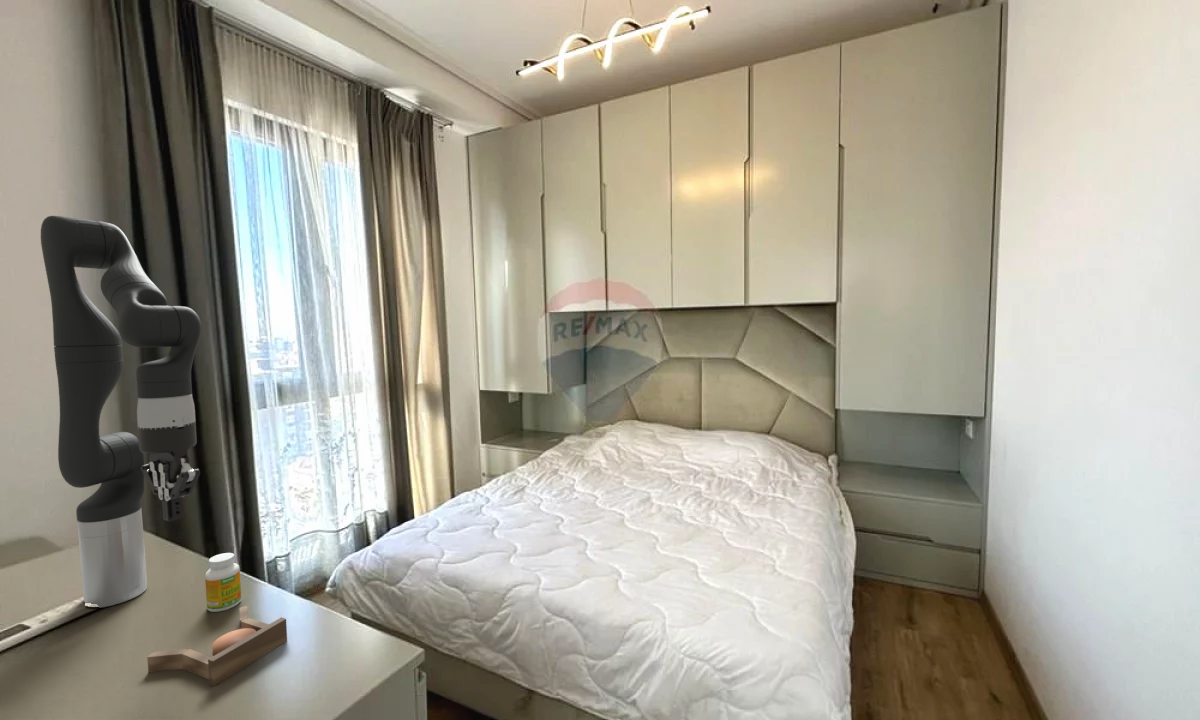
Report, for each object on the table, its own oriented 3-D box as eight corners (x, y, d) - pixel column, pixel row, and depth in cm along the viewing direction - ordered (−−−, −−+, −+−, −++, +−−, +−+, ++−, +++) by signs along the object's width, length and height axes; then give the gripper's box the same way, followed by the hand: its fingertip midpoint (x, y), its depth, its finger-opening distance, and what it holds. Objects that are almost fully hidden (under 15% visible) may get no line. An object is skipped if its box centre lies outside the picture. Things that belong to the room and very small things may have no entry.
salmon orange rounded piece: (204, 660, 81) (203, 645, 81) (241, 639, 87) (240, 625, 87) (229, 668, 79) (228, 653, 79) (265, 646, 85) (265, 632, 85)
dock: (146, 671, 78) (144, 647, 78) (246, 617, 93) (244, 597, 92) (200, 694, 73) (198, 669, 73) (297, 634, 88) (296, 612, 87)
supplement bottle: (222, 614, 94) (219, 565, 93) (199, 611, 95) (196, 562, 94) (248, 598, 99) (245, 552, 98) (226, 595, 100) (223, 549, 99)
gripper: (117, 422, 84) (124, 521, 85) (164, 429, 79) (170, 534, 80) (169, 415, 91) (175, 506, 92) (215, 420, 86) (220, 517, 87)
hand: (173, 519), depth 86 cm, fingers closed
